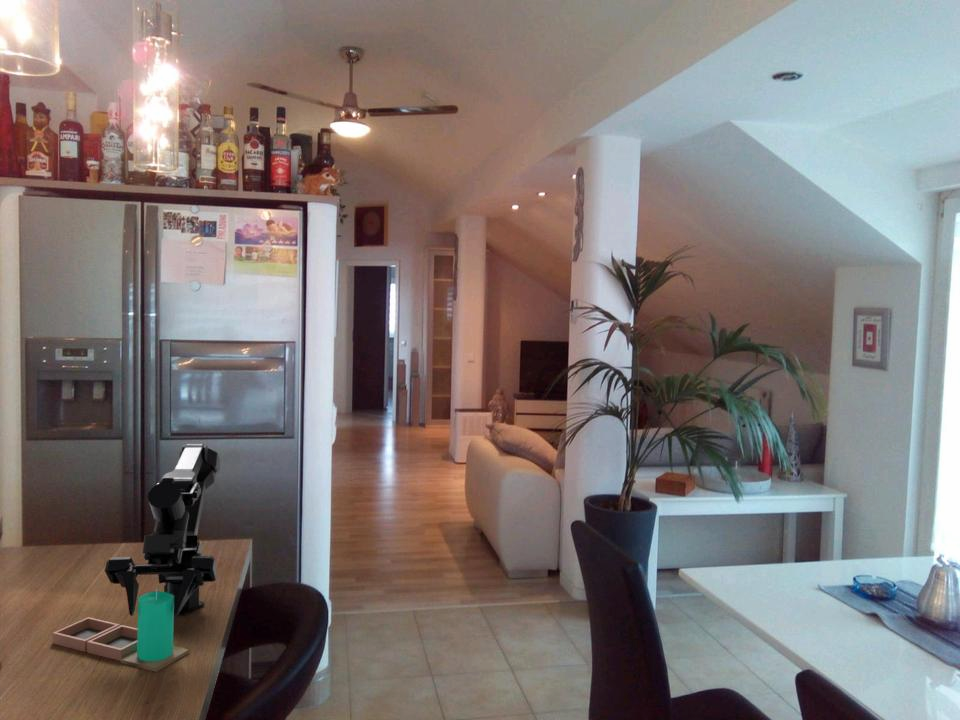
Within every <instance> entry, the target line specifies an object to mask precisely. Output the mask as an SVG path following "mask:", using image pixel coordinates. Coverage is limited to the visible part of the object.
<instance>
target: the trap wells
mask: <svg viewBox="0 0 960 720" xmlns="http://www.w3.org/2000/svg"><path fill="white" fill-rule="evenodd" d="M137 631H138V627H132V626H129V625H128V626H127V625H124V624H123V625H122V624H119V623H117V622H116V623H115V622H111V621H106V620H102V619H98V618H94V617H89V616H88V617H85V618H83V619H80V620H79V621H77V622H74V623H72V624H70V625H67V626H65V627H63V628H61V629H58V630H56V631H53V632H52V633H51V634H52V640H51V641H52V643H51V644H53V645H57V646H61V647H66V648H68V649H73V650H76V651H80V652H86V653H89V654H92V655H96V656H100V657H104V658H108V659H113V660H116V661H120V662H121V659H123V658H124V657H126V656H128V655H130V654H132V653H134V652H136V651H137Z"/></svg>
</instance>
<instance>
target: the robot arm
mask: <svg viewBox="0 0 960 720" xmlns="http://www.w3.org/2000/svg"><path fill="white" fill-rule="evenodd" d="M220 468H221V459H220V456H219V453H218V452H217V451H215V450H213V449H211V448H209V447H208V445H207V444H204V443H186V444H183V445H182V448H181V451H180V452H179V456H178V461H177V463H176V465H175V468H174V470H173V471H169V472H166V473H165V474H164V475H163V476H162V477H161V478H160V481H159V482H157V483H156V484H155V485H154V486H153V487H152V488H151V489H150V491H148V493H147V500H148V504H149V506H150V510H151V513H152V516H153V519H154V520H156V522H155V526H154V529H153V532H152V534H145V535H144V538H143V547H142V554H144V559H145V561H147V563H134V561H133V557H132V556H115V557H110V558H109V559H108V560H107V561H106V562H105V563H106V564H105V568H104V572H105V574H106V576H107V578H108V580H109V582H110V583H111V584H114V585H115V584H116V585H119V584H120V586H121V588H125V592H126V598H127V604H128V605H127V606H128V614H129V616H130V617H133V616H134V613H135V611H136V605H137V601H138V594H139V587H140V584H139V582H138V580H137V578H138V576H141V575H142V576H143V575H146V576H148V575H158V584H164V586H163V592H166V593H170V594H172V595H174V615H177V616H178V615H179V616H185V615H187V614H188V613H191V612H192V611H195V610H197V609H198V608H201V607H202V606H204V605H205V602H204V601H200V587H203V586H204V584H205V582H206V583H207V582H209V583H210V582H215V581H216V580H217V575H218V566H217V564H216V559H215V558H214V556H213V555H204V554H203V553H202V550H201V549H202V548H201V543H200V540H199V537H198V533H199V528H200V523H201V522H200V521H201V517H202V512H203V507H204V503H205V502H204V501H205V495H206V490H207V489H208V488H209V487H211V486H212V485H213V484H214V483H215V482H216V476H217V474H218V473H219V472H220Z"/></svg>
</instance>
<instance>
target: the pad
mask: <svg viewBox="0 0 960 720" xmlns="http://www.w3.org/2000/svg"><path fill="white" fill-rule="evenodd" d="M189 652H190V649H187V648H184V647H180V646H177V645H176V646H175V645H173V652H172V654H171V655H170V656H169V657H167V658H165V659H162V660H158V661H143V660H139V658H138V657H137V651H136V652H134V653H132V654H130V655H128V656H126V657H124V658H123V659H121V661H120V663H121V664H124V665H128V666H133V667H136V668H139V669H143V670H148V671H151V672H156V673H157V672H159V671H160V670H162V669H163V668H165V667H166V666H169V665H170V664H172V663H174V662H175V661H177V660H179V659H180V658H182V657H184V656H186V655H188V654H190V653H189Z"/></svg>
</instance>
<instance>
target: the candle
mask: <svg viewBox="0 0 960 720" xmlns="http://www.w3.org/2000/svg"><path fill="white" fill-rule="evenodd" d="M137 601H138V602H137V629H138V631H137V657H138V658H139V660H143V661H158V660H162V659H165V658H167V657H169V656H170V655H171V654H172V652H173V646H174V627H175V625H174V621H175V619H174V618H175V616H174V615H175V613H174V595H172V594H170V593H166V592H164V591H160V590H158V588H156V589H155V590H153V591H150V592H147V593H144V594H142V595H139V597H138V598H137Z"/></svg>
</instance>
